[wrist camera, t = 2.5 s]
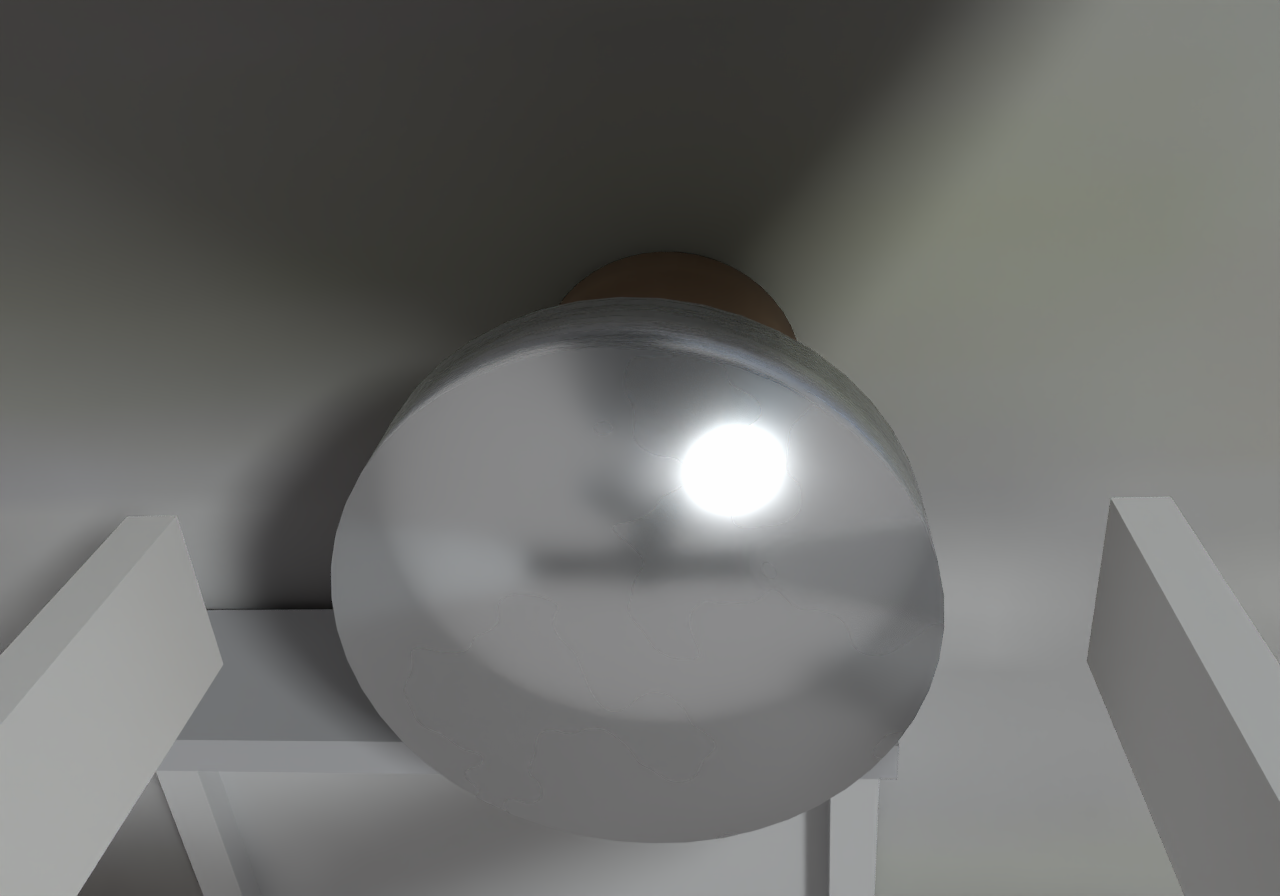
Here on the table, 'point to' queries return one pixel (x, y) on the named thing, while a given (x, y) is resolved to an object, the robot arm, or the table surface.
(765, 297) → the brown rounded cylinder
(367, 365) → the table surface
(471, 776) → the disc
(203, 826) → the tray
